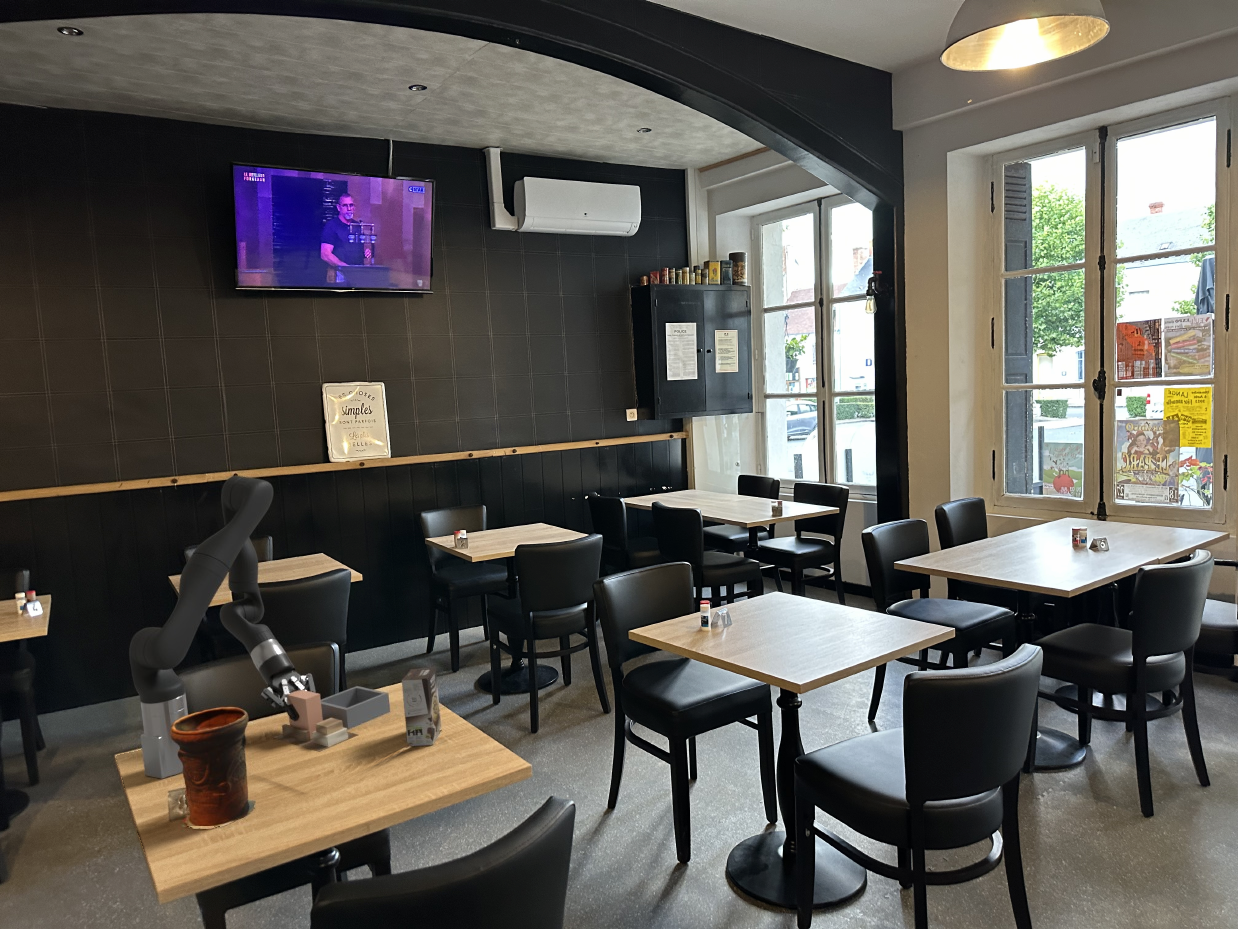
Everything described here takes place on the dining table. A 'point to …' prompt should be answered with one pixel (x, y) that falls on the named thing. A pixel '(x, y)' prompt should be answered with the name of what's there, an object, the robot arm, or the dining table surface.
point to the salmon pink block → (306, 710)
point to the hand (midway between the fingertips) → (305, 715)
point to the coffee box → (421, 706)
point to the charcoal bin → (355, 706)
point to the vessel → (214, 765)
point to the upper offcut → (329, 726)
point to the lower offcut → (330, 737)
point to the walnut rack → (303, 738)
